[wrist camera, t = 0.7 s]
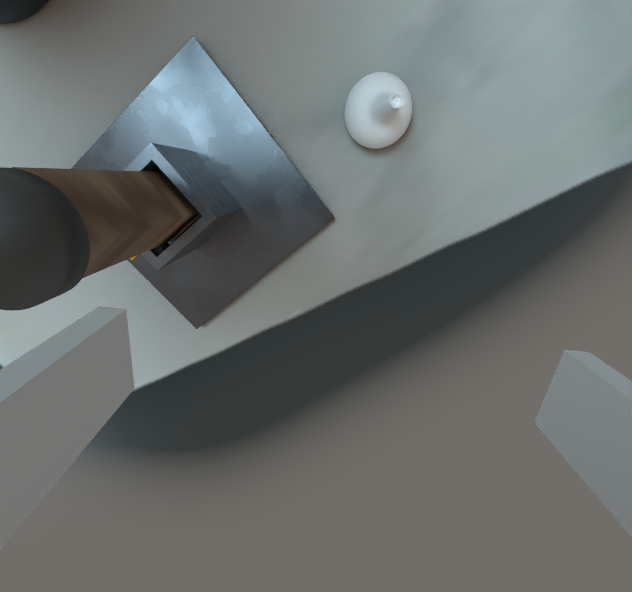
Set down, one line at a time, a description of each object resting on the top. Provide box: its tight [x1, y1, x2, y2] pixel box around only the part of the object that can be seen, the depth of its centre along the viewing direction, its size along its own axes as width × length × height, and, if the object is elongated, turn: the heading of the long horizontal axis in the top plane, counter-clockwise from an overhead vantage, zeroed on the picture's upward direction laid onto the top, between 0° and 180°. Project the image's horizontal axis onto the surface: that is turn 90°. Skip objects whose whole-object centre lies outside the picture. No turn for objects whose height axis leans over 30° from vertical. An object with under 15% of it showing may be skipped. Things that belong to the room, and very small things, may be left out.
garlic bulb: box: [344, 72, 412, 149], centre depth 29 cm, size 6×6×8 cm
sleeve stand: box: [72, 36, 334, 329], centre depth 31 cm, size 20×20×10 cm
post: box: [0, 167, 202, 310], centre depth 23 cm, size 6×6×22 cm
